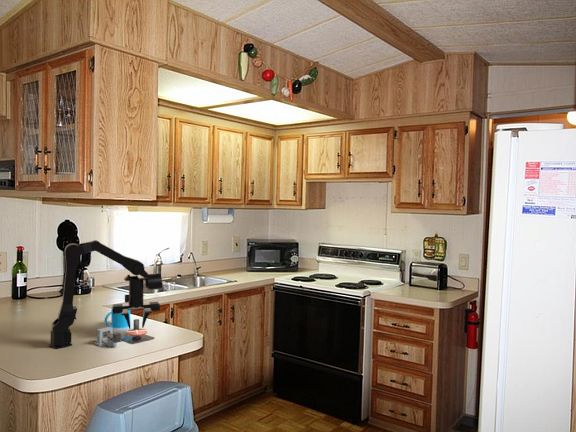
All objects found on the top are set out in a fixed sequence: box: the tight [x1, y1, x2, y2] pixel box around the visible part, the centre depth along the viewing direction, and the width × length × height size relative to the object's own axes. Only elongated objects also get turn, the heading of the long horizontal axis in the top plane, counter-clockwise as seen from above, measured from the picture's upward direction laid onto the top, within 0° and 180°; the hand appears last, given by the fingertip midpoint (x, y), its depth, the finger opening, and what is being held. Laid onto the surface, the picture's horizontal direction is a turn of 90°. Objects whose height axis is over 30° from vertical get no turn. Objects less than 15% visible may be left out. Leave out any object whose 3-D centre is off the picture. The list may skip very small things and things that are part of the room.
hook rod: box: [103, 331, 122, 344], centre depth 191 cm, size 2×13×3 cm, turn 51°
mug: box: [104, 308, 131, 329], centre depth 218 cm, size 12×8×8 cm
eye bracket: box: [93, 326, 117, 348], centre depth 192 cm, size 7×8×6 cm
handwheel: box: [126, 318, 148, 336], centre depth 199 cm, size 8×8×6 cm
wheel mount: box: [121, 334, 155, 345], centre depth 200 cm, size 10×10×1 cm
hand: (136, 328), depth 202 cm, fingers open, 5 cm apart
